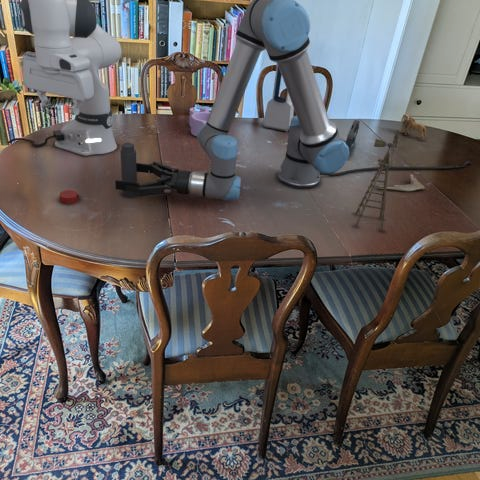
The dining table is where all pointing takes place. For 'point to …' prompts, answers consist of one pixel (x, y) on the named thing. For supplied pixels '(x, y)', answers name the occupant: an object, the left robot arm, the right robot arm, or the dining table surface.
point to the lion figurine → (413, 126)
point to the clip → (198, 119)
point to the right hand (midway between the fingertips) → (122, 175)
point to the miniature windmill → (382, 163)
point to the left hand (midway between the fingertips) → (60, 110)
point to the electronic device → (278, 108)
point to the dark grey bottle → (128, 166)
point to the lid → (68, 196)
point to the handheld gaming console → (352, 135)
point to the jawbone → (414, 185)
